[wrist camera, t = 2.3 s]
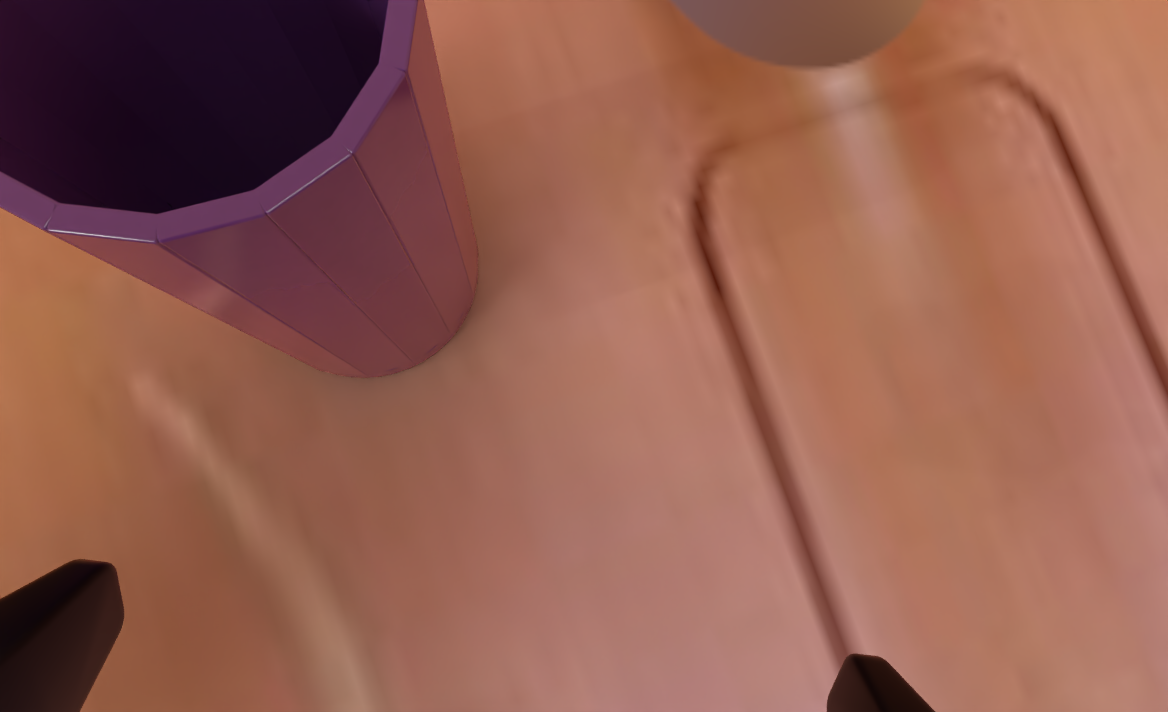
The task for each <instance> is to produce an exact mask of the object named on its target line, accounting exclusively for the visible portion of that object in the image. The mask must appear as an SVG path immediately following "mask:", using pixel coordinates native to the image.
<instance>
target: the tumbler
mask: <svg viewBox="0 0 1168 712" xmlns="http://www.w3.org/2000/svg"><path fill="white" fill-rule="evenodd" d="M0 208H2V209H4V210H6V211H8V212H10V213H11V214H13V215H15V216H17V217H19V218H21V219H23V220H24V221H26V222H28V223H30V224H32V225H34V226H36V227H38V228H39V229H41V230H43V231H45V232H47V233H49V234H51V235H53V236H55V237H57V238H59V239H61V240H63V241H65V242H67V243H69V244H71V245H73V246H75V247H77V248H79V249H81V250H83V251H85V252H87V253H89V254H90V255H92V256H94V257H96V258H98V259H100V260H102V261H104V262H106V263H108V264H110V265H112V266H114V267H116V268H118V269H120V270H122V271H124V272H126V273H128V274H130V275H132V276H134V277H136V278H138V279H140V280H142V281H144V282H146V283H148V284H150V285H152V286H154V287H156V288H158V289H160V290H162V291H164V292H166V293H167V294H169V295H171V296H173V297H175V298H177V299H179V300H181V301H183V302H185V303H187V304H189V305H191V306H193V307H195V308H197V309H199V310H201V311H203V312H205V313H207V314H209V315H211V316H213V317H215V318H217V319H219V320H221V321H223V322H225V323H227V324H229V325H231V326H233V327H235V328H237V329H239V330H241V331H242V332H244V333H246V334H248V335H250V336H252V337H254V338H256V339H258V340H260V341H262V342H264V343H266V344H268V345H270V346H272V347H274V348H276V349H278V350H280V351H282V352H284V353H286V354H288V355H290V356H292V357H294V358H296V359H298V360H300V361H302V362H304V363H306V364H308V365H310V366H312V367H314V368H316V369H318V370H320V371H324V372H329V373H332V374H335V375H340V376H346V377H357V378H370V377H381V376H386V375H390V374H395V373H398V372H401V371H404V370H406V369H409V368H411V367H413V366H415V365H417V364H419V363H421V362H423V361H425V360H426V359H428V358H429V357H431V356H432V355H434V354H435V353H436V352H438V351H439V350H440V349H441V348H442V347H443V346H444V345H446V344H447V343H448V341H449V340H450V339H451V338H452V337H453V336H454V335H455V333H456V332H457V331H458V329H459V328H460V326H461V325H462V323H463V322H464V320H465V318H466V316H467V314H468V312H469V310H470V308H471V305H472V302H473V299H474V296H475V292H476V287H477V282H478V248H477V243H476V239H475V234H474V229H473V225H472V220H471V216H470V211H469V206H468V202H467V197H466V192H465V188H464V183H463V178H462V174H461V169H460V164H459V160H458V155H457V150H456V146H455V141H454V137H453V132H452V127H451V123H450V118H449V113H448V109H447V104H446V99H445V95H444V90H443V85H442V81H441V76H440V72H439V67H438V62H437V58H436V53H435V48H434V44H433V39H432V34H431V30H430V25H429V20H428V16H427V11H426V7H425V2H424V0H0Z"/></svg>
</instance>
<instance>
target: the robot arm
mask: <svg viewBox="0 0 1168 712" xmlns="http://www.w3.org/2000/svg"><path fill="white" fill-rule="evenodd" d="M123 621H124V606H123V601H122V596H121V591H120V586H119V581H118V575H117V571H116V568H115V567H114V566H113V565H112V564H111V563H108V562H101V561H93V560H85V559H77V560H73V561H70V562H68V563H66V564H64V565H62V566H60V567H59V568H57V569H55V570H53V571H51V572H49V573H47V574H46V575H44V576H42V577H40V578H38V579H36V580H35V581H33V582H31V583H29V584H27V585H25V586H23V587H22V588H20V589H18V590H16V591H14V592H12V593H11V594H9V595H7V596H5V597H3V598H1V599H0V712H80V710H81V708H82V706H83V704H84V702H85V700H86V698H87V696H88V694H89V692H90V690H91V688H92V686H93V684H94V682H95V680H96V678H97V676H98V674H99V672H100V670H101V668H102V667H103V665H104V663H105V661H106V659H107V657H108V655H109V653H110V651H111V649H112V647H113V645H114V643H115V641H116V639H117V637H118V635H119V633H120V631H121V628H122V625H123ZM827 712H935V711H934V710H933V709H932V708H931V707H930V706H929V705H928V704H927V703H926V702H925V701H924V700H923V699H922V697H921V696H920V695H919V694H918V693H917V692H916V691H915V690H914V689H913V688H912V687H911V686H910V685H909V684H908V683H907V682H906V681H905V680H904V679H903V678H902V676H901V675H900V674H899V673H898V672H897V671H896V670H895V669H894V668H893V667H892V666H891V665H890V664H889V663H888V662H887V661H886V660H884V659H883V658H881V657H878V656H871V655H863V654H850V655H849V656H848V657H846V659H845V661H844V663H843V665H842V667H841V669H840V671H839V673H838V676H837V678H836V680H835V682H834V684H833V687H832V689H831V691H830V693H829V696H828V700H827Z"/></svg>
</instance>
